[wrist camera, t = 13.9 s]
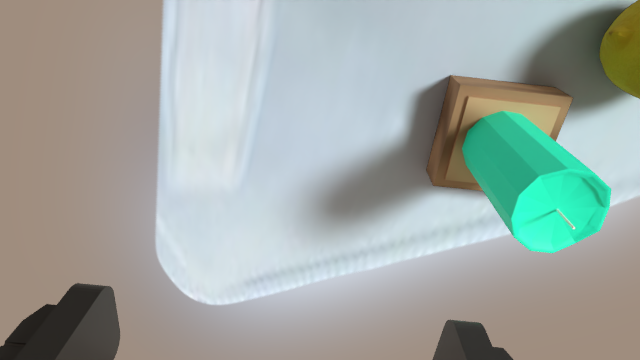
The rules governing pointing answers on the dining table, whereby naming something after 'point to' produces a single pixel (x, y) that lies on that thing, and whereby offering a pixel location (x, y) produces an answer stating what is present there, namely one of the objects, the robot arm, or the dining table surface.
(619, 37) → the lemon
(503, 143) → the candle
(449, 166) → the stand
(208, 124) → the dining table surface
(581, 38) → the dining table surface
